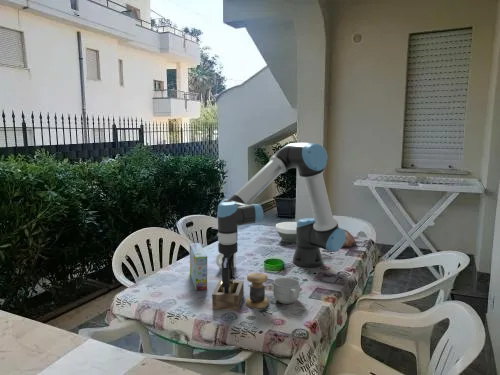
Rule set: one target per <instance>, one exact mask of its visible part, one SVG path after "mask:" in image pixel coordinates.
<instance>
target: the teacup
mask: <svg viewBox="0 0 500 375" xmlns="http://www.w3.org/2000/svg"><path fill="white" fill-rule="evenodd" d="M272 283H273V288H272V289H273V290H272V291H273V294H272V295H273V297H274V299H276V300H277V301H278V303H281V304H285V305H290V304H293V303H294V302H296V301H298V300H299V298H300V294H301V293H300V292H301V285H302V284H301V281H300V280H298V279H295V278H291V277H284V276H283V277H278V278H274V279H273V282H272Z"/></svg>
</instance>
